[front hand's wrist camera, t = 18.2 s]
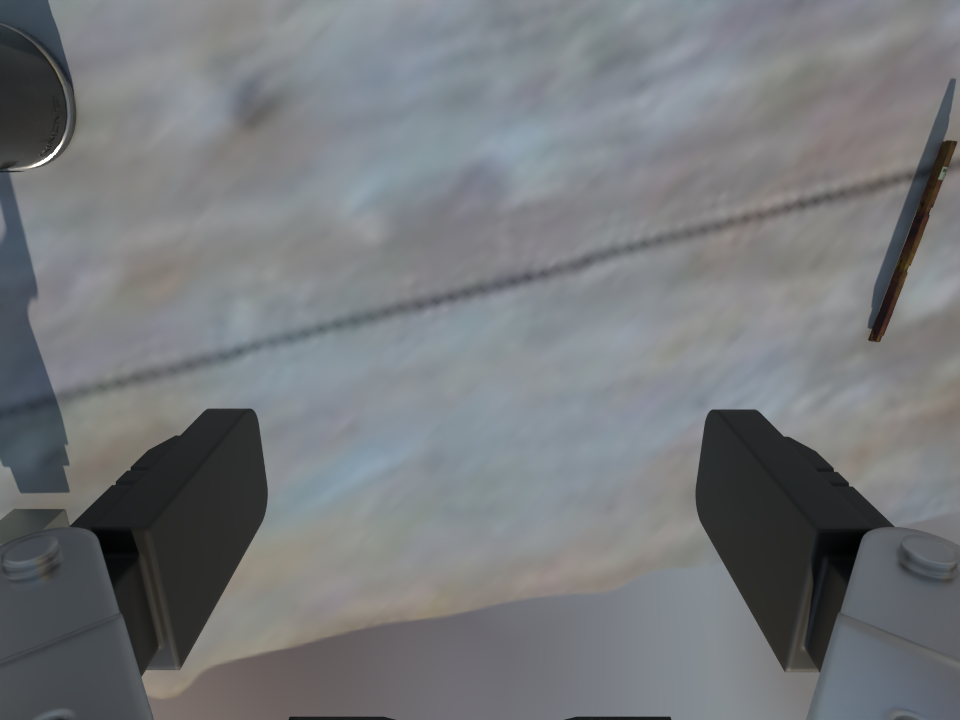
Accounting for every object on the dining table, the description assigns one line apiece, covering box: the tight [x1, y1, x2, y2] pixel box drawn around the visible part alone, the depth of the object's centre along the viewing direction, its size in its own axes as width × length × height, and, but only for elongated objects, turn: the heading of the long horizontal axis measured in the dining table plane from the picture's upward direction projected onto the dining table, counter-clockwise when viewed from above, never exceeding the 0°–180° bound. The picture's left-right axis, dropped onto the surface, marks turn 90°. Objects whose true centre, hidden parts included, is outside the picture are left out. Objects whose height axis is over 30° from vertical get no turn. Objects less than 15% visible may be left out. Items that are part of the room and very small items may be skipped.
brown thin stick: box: [868, 141, 957, 342], centre depth 46 cm, size 15×1×1 cm, turn 172°
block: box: [0, 509, 70, 546], centre depth 52 cm, size 5×4×5 cm
